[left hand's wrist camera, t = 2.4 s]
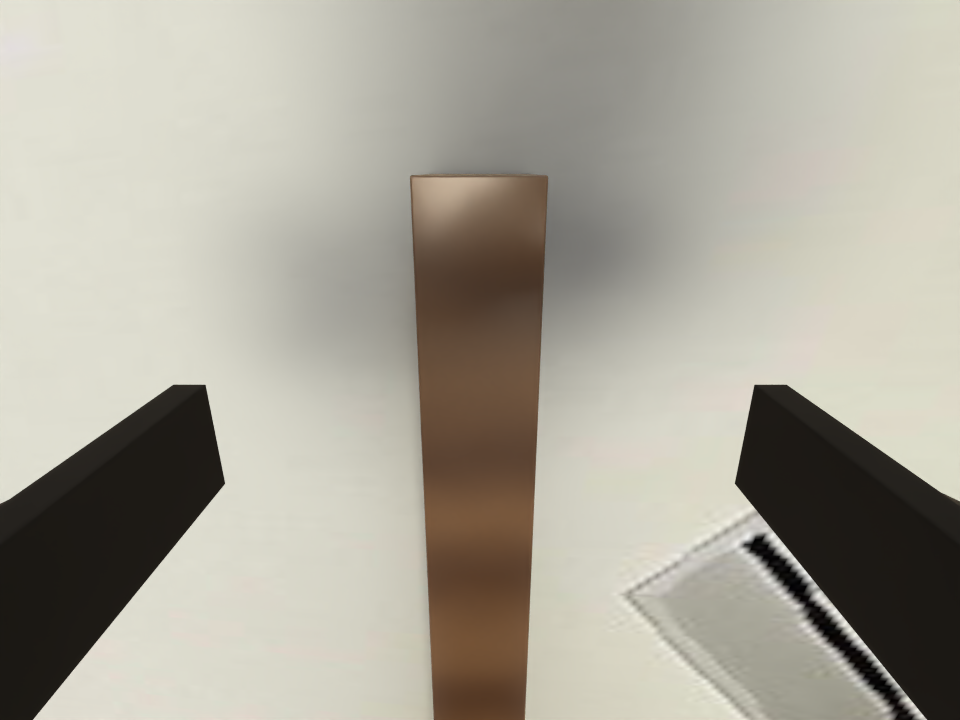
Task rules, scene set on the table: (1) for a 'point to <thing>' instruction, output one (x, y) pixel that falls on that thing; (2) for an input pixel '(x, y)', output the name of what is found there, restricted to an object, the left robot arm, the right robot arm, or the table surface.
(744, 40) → the table surface
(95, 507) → the left robot arm
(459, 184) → the bar
